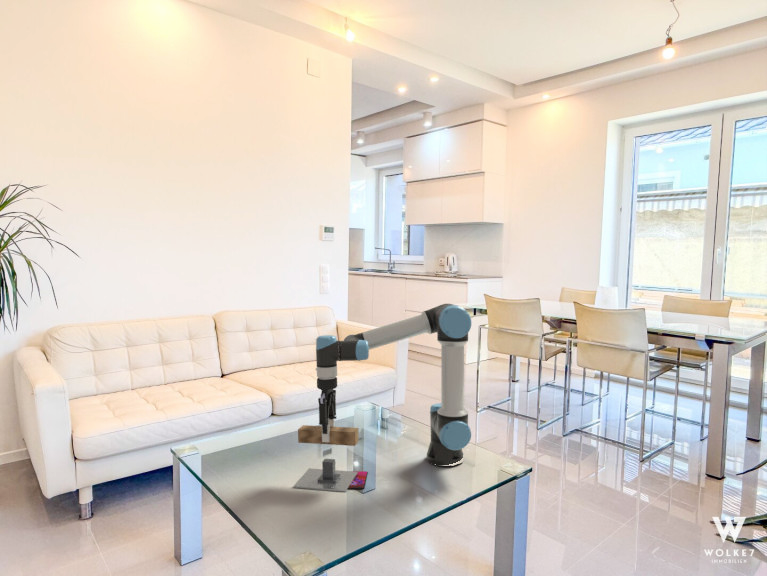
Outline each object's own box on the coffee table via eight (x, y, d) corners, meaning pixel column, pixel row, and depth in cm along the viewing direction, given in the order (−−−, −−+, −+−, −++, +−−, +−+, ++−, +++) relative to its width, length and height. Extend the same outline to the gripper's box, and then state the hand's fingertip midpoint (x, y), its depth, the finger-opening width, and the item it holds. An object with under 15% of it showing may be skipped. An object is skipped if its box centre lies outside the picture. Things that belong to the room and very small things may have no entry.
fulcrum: (357, 473, 186) (357, 454, 186) (346, 492, 171) (345, 470, 170) (309, 469, 190) (308, 450, 190) (293, 487, 175) (292, 467, 175)
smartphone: (368, 471, 187) (364, 488, 172) (368, 473, 187) (364, 490, 172) (348, 471, 188) (342, 487, 173) (348, 473, 188) (342, 490, 173)
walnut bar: (298, 442, 180) (297, 429, 180) (303, 438, 185) (302, 425, 184) (355, 445, 175) (354, 432, 175) (358, 441, 180) (358, 427, 180)
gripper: (325, 372, 189) (326, 430, 189) (308, 382, 171) (310, 447, 172) (343, 372, 187) (345, 431, 188) (328, 383, 169) (330, 448, 170)
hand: (328, 439), depth 180 cm, fingers closed on walnut bar, 5 cm apart
